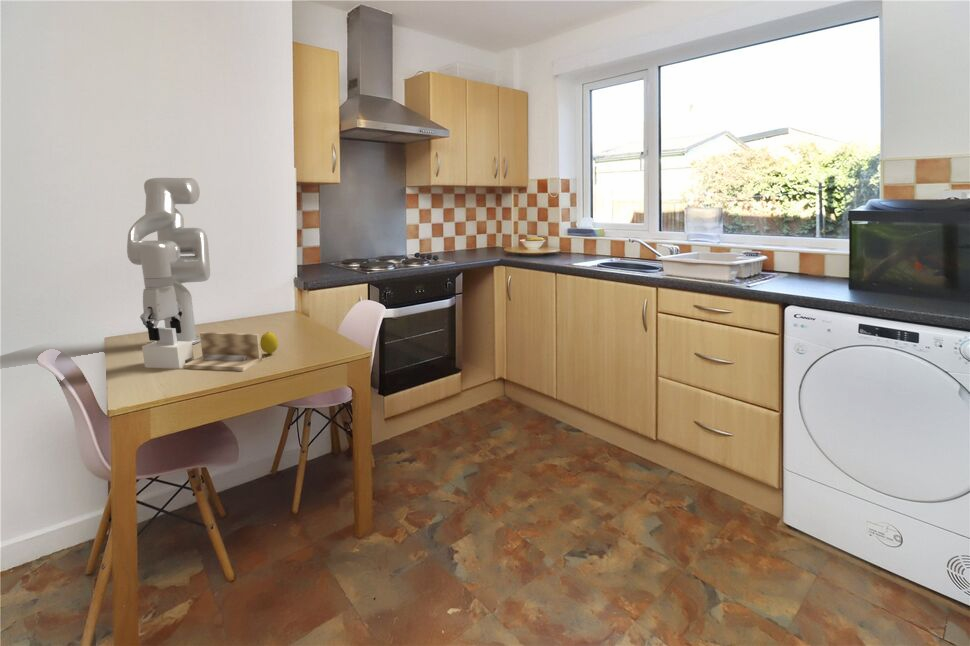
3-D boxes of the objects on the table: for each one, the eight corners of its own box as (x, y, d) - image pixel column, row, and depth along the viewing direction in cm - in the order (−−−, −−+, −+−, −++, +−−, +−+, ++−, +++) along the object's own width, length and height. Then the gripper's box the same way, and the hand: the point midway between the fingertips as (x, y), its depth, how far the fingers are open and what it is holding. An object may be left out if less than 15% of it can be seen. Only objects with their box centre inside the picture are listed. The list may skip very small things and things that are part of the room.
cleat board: (183, 368, 171) (180, 340, 169) (205, 358, 181) (202, 332, 179) (243, 371, 168) (240, 342, 166) (262, 360, 179) (259, 334, 177)
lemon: (272, 351, 189) (270, 329, 187) (282, 353, 186) (280, 331, 184) (258, 355, 185) (255, 332, 183) (268, 357, 182) (265, 334, 180)
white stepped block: (145, 367, 172) (139, 330, 169) (160, 360, 179) (155, 325, 176) (179, 369, 170) (174, 331, 168) (194, 362, 177) (189, 326, 174)
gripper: (167, 279, 177) (173, 330, 181) (126, 286, 161) (134, 343, 164) (188, 279, 176) (194, 330, 180) (149, 287, 160) (157, 343, 163)
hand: (165, 336), depth 172 cm, fingers open, 9 cm apart
